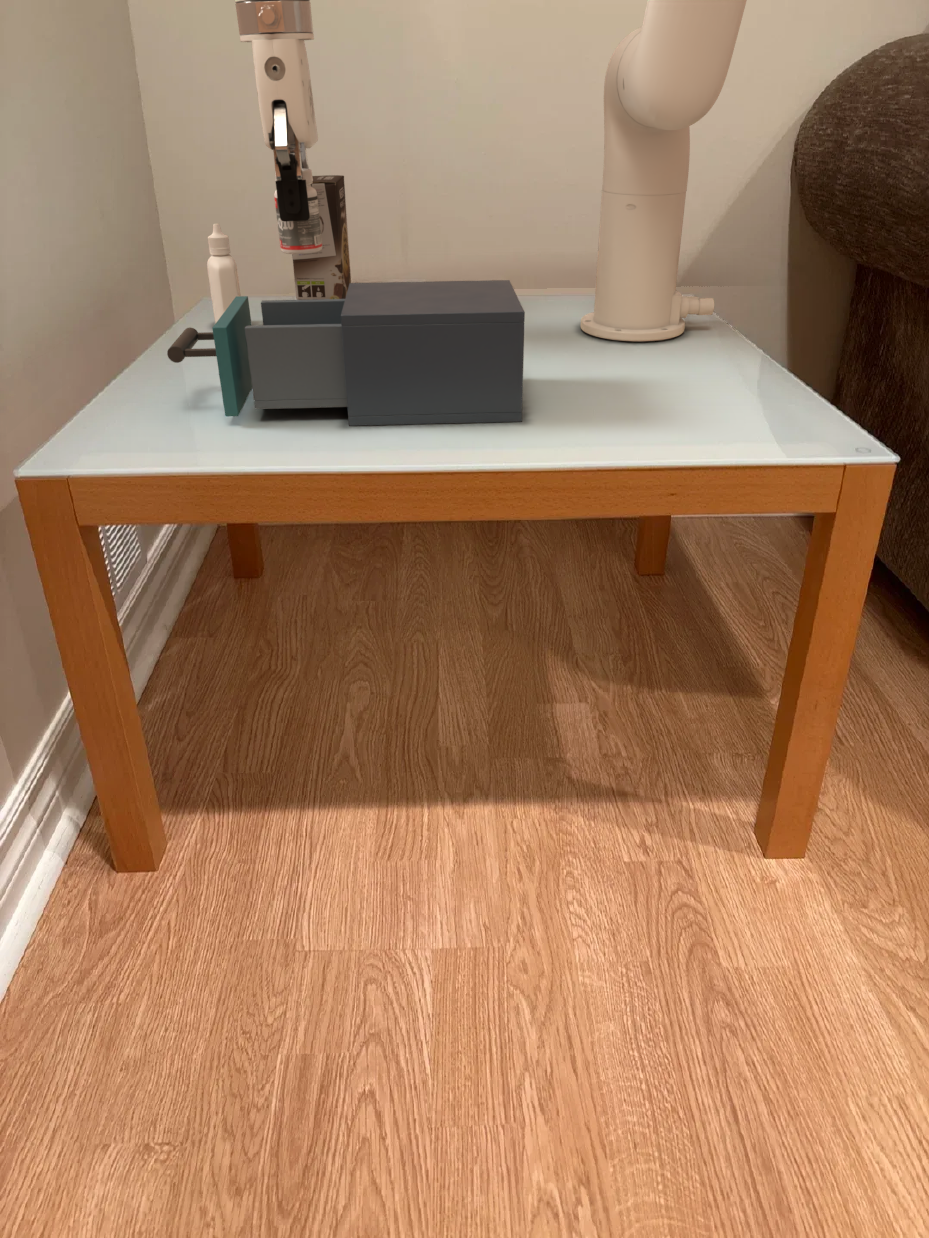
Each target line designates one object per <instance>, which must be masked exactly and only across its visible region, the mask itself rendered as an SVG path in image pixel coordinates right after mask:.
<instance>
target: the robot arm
mask: <svg viewBox="0 0 929 1238" xmlns="http://www.w3.org/2000/svg"><path fill="white" fill-rule="evenodd" d="M234 2H235V11H236V18H237V25H238V33H239V42H240V43H251V52H252V58H253V68H254V69H253V70H254V77H255V85H256V93H257V101H258V109H259V115H260V116H259V117H260V122H261V129H262V134H263V141H264V143H265V146H266V147H267V148H268V149H269V150H271V151H272V152H273V160H274V174H275V173H276V177H275V181H274V182H275V191H276V190H277V198H278V206H279V213H280V219H281V220H282V221H306V220H308V219H309V218H310V213H309V204H308V195H307V186H306V180H303V174H302V169H310V168H309V167H310V166H309V161H308V152H307V149H311V148H312V147H314V145H316V144H317V142H318V140H319V134H318V128H317V127H318V126H317V120H316V113H315V107H314V106H315V103H314V96H313V87H312V80H311V73H310V65H309V58H308V54H307V53H308V52H307V47H306V43H305V41H312V40H315V35H314V24H313V15H312V6H311V5H312V4H311V0H234ZM746 4H747V0H647V1H646V5H645V11H644V16H643V20H642V25H641V26H640V27H637V28H636V29H634V30H632V31H630V32H629V33H628V34H627V35H626V36H624V38H623V39H622V40H621V41H620V42H619V43H618V44H617V46H616V48H614V50H613V53H612V55H611V56H610V58H609V62H608V64H607V67H606V72H605V76H604V85H603V125H604V126H603V128H604V136H603V137H604V148H603V150H604V151H603V168H602V169H603V171H602V183H601V184H602V187H601V195H600V196H601V197H600V210H599V211H600V212H599V213H600V214H599V227H598V228H599V229H598V244H597V245H598V246H597V257H596V258H597V261H596V275H595V289H594V290H595V291H594V305H593V306H594V307H593V311H592V312H588V313H586V314H585V315H583V316H582V317H581V319H580V329H581V330H582V331H583V332H584V333H586V334H587V335H590V336H593V337H596V338H600V339H606V340H612V341H621V342H655V341H656V342H657V341H664V340H669V339H673V338H676V337H679V336H680V335H682V334H683V333H684V332H685V328H686V321H685V320H684V319H686V318H687V317H688V316H689V315H696V316H711V315H713V314H714V311H715V300H714V298H713V297H702V298H701V297H698V296H697V295H696V296H687V295H683V294H682V293H681V292H680V291H678V290H677V289H676V288H677V282H678V281H677V280H678V270H679V262H680V254H681V253H680V252H681V243H682V233H683V226H684V225H683V224H684V216H685V215H684V213H685V205H686V196H687V190H688V183H689V170H690V155H691V153H690V152H691V139H690V138H691V133H690V131H691V130H690V126H692V125H693V126H694V125H695V124H696V123H698V122H699V121H700V120H701V119H703V118H704V117H705V116H706V115H707V114H708V113H709V112H710V110H711V109H712V108H713V106H714V105H715V103H716V102H717V100H718V98H719V96H720V94H721V92H722V89H723V87H724V84H725V81H726V78H727V76H728V73H729V69H730V66H731V62H732V58H733V55H734V51H735V48H736V47H735V46H736V43H737V39H738V35H739V32H740V27H741V24H742V20H743V15H744V12H745V9H746ZM276 180H277V181H276ZM311 187H312V184H311Z"/></svg>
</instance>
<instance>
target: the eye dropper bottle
mask: <svg viewBox="0 0 929 1238" xmlns="http://www.w3.org/2000/svg"><path fill="white" fill-rule="evenodd" d="M207 243H208V251H209V255H210V256H209V258H208V259H207V263H206V268H207V276H208V282H209V288H210V296H211V297H210V298H211V305H212V311H213V318H214V325H215V324H216V322H217V321H218V320H219V318H220V317H221V316H222V314H223V313H224V312H225V310H226V309H227V308H228V306H229V305H230V304H231V302H232V301H233V300H234V298H235V297H236V296H242V295H241V289H240V279H239V272H238V266H237V263H236V260H235V259H234V257H233V256H232V255H231V247H230V239H229V236H228V235H227V234H225V233H223V231H222V228H221V225H220V223H213V225H212V233H211V234H210V235H208V236H207Z"/></svg>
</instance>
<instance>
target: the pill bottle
mask: <svg viewBox="0 0 929 1238" xmlns="http://www.w3.org/2000/svg"><path fill="white" fill-rule="evenodd" d="M274 174H275V175H274V176H275V177H274V178H276V173H275V172H274ZM302 174H303V180H306V186H307V195H308V204H309V213H310V218H309V219H308V220H306V221H282V220H281V219H280V213H279V206H278V198H277V190H276V189H275V191H274V194H273V197H274V199H273V200H274V205H275V215H276V221H277V222H276V223H277V231H278V238H279V247H280V251H281V252H282V253H283V254H287V255H292V254H307V253H315V252H318V251H320V250H321V249H322V239H321V230H320V220H319V210H318V199H317V192H316V190H315V189H314V188H313V187H311V184H312V183H313V182H312V181H313V177H312V176H313V172H312V169H311V168H309V169H302ZM275 181H277V180H276V179H275Z"/></svg>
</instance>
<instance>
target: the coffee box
mask: <svg viewBox="0 0 929 1238" xmlns="http://www.w3.org/2000/svg"><path fill="white" fill-rule="evenodd" d="M312 177H313V181H312V182H313V183H312V187H313V188H314V189H315V190H316V192H317V199H318V210H319V220H320V230H321V239H322V249H321V250H320V251H318V252H315V253H307V254H291V256H292V257H291V258H292V267H293V278H294V279H293V280H294V288H295V300H312V299H345V298H346V294H347V291H348V287H349V283H352V275H351V260H350V248H349V231H348V219H347V204H346V202H347V201H346V188H345V176H344V175H338V174H337V175H335V174H334V175H333V174H331V175H330V174H329V175H312Z"/></svg>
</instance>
